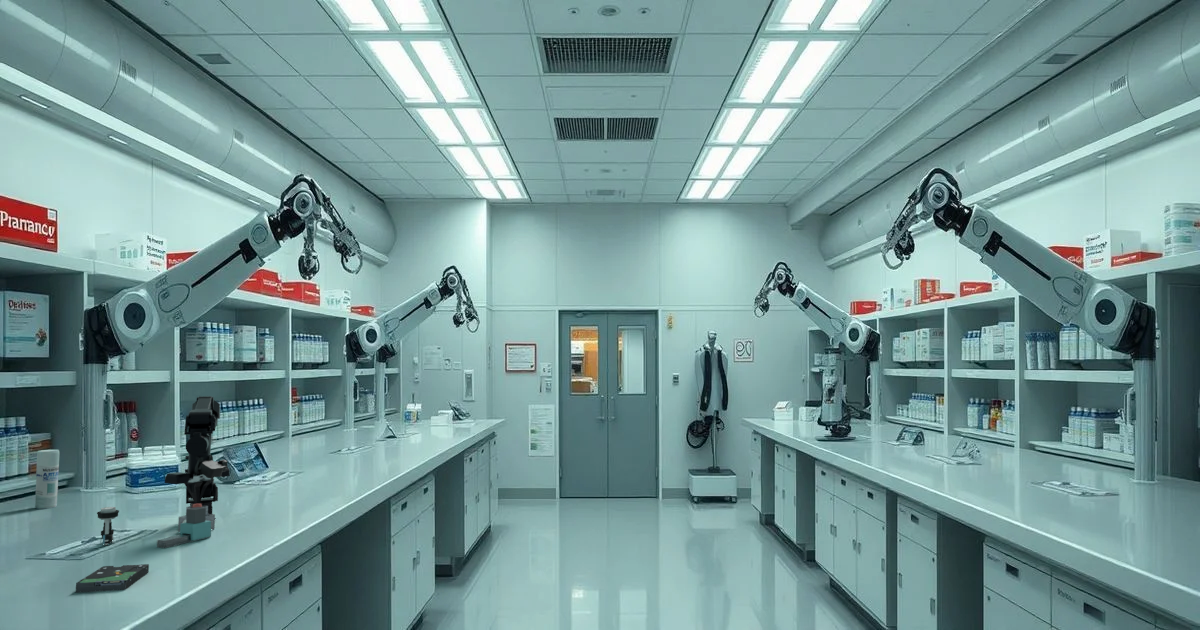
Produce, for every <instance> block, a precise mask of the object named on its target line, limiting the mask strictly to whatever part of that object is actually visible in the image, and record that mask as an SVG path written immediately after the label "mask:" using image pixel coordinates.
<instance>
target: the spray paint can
mask: <svg viewBox="0 0 1200 630" xmlns="http://www.w3.org/2000/svg"><path fill="white" fill-rule="evenodd" d="M60 453H61V452H60V449H42V450H38V451H37V453H36V473H35V497H34V498H35V500H34V503H35V504H34V507H35V509H38V510H39V509H40V510H43V509H51V508H56V507H57V505H58V490H59V487H58V486H59V471H60V470H59V468H60Z"/></svg>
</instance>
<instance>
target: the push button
mask: <svg viewBox="0 0 1200 630" xmlns="http://www.w3.org/2000/svg"><path fill="white" fill-rule="evenodd" d="M119 513H120V510H119V509H116V506H108V507H107V506H105V507H102V508H100V511H97V512H96V514H97V518H98V519H99V520H101V521H102V520H103V527H102V530H101V531H100V536H101V538H100V540H102V541H100V543H101V544H102V545H103V544H104V546H109V545H108V544H110V545H111V543H112V542H111V541H112V540H113V541H114V532H115V529H113V527H112V523H113V522H112V520H114V519H116V517H117V518H118V517H119ZM110 542H111V543H110Z"/></svg>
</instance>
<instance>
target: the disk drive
mask: <svg viewBox="0 0 1200 630" xmlns="http://www.w3.org/2000/svg"><path fill="white" fill-rule="evenodd" d="M149 569H150V564H149V563H145V564H124V565H121V566H114V565H104V566H102V567H100V568H98V569H97V570H95V571H93V572H92V573H90V574H88V575H87V576H85V577H84V578H82V579H80V580H79V581H77V582H76V584H75V593H77V594H79V593H93V592H97V593H98V592H111V591H112V592H114V591H126V590H128V589H129V588H130V587H131V586H133V585H134V584H135V583H137V582H138V581H140V580H142V578H143V577H145V576H146V575H148V574H149Z"/></svg>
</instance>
